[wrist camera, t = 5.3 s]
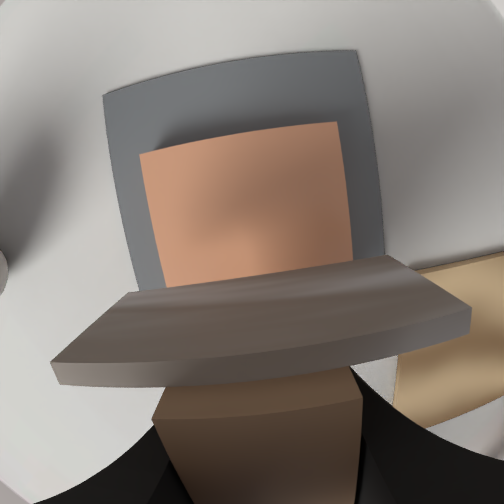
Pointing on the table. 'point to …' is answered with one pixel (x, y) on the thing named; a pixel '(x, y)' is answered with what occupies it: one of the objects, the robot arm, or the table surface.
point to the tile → (249, 204)
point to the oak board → (458, 348)
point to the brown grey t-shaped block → (264, 371)
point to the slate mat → (240, 121)
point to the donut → (3, 272)
